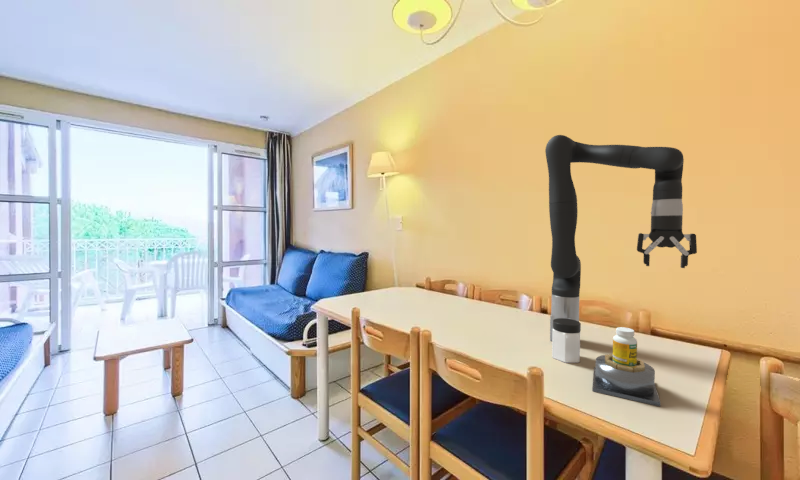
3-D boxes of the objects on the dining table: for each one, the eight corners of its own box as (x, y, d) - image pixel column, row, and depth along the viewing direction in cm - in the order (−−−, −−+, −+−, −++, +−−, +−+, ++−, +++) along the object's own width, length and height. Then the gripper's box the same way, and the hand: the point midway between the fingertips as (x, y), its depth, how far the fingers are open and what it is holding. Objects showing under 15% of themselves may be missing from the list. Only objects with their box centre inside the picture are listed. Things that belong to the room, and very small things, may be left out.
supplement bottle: (618, 358, 91) (618, 325, 91) (640, 365, 87) (641, 330, 86) (608, 363, 88) (609, 328, 88) (631, 370, 84) (632, 334, 83)
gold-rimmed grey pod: (592, 391, 85) (592, 364, 85) (593, 370, 97) (594, 346, 97) (660, 406, 78) (661, 377, 78) (652, 382, 90) (653, 356, 89)
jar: (573, 352, 111) (573, 317, 110) (586, 363, 102) (587, 325, 102) (546, 352, 111) (547, 318, 110) (558, 363, 103) (558, 325, 102)
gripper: (639, 214, 101) (637, 266, 102) (700, 213, 94) (698, 270, 94) (637, 215, 107) (635, 264, 108) (694, 214, 100) (692, 266, 101)
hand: (664, 266), depth 101 cm, fingers open, 8 cm apart
